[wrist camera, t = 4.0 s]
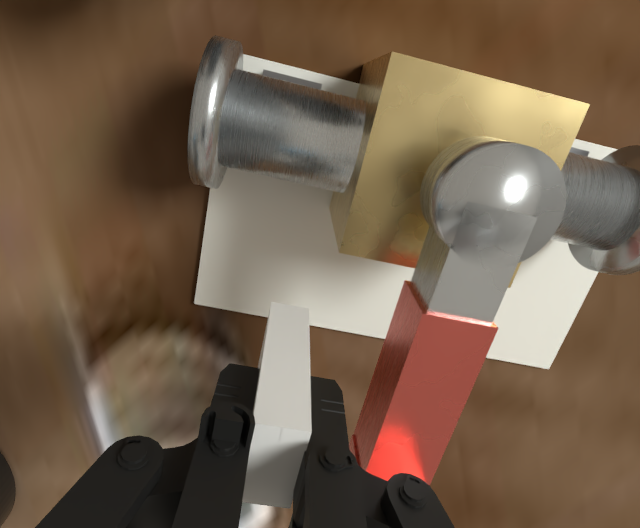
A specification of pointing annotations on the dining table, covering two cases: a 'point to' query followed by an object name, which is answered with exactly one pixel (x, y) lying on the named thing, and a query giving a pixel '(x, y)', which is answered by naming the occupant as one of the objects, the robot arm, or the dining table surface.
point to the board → (358, 260)
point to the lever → (454, 297)
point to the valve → (403, 149)
